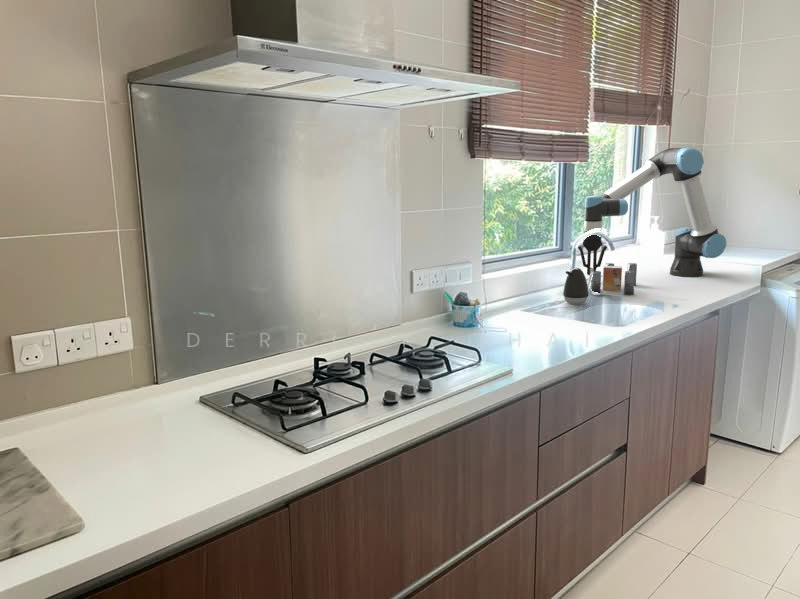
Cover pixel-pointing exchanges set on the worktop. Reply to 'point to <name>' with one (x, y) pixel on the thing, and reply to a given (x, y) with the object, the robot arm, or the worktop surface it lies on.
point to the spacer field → (629, 279)
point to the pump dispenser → (575, 287)
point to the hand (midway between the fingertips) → (591, 282)
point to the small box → (612, 278)
